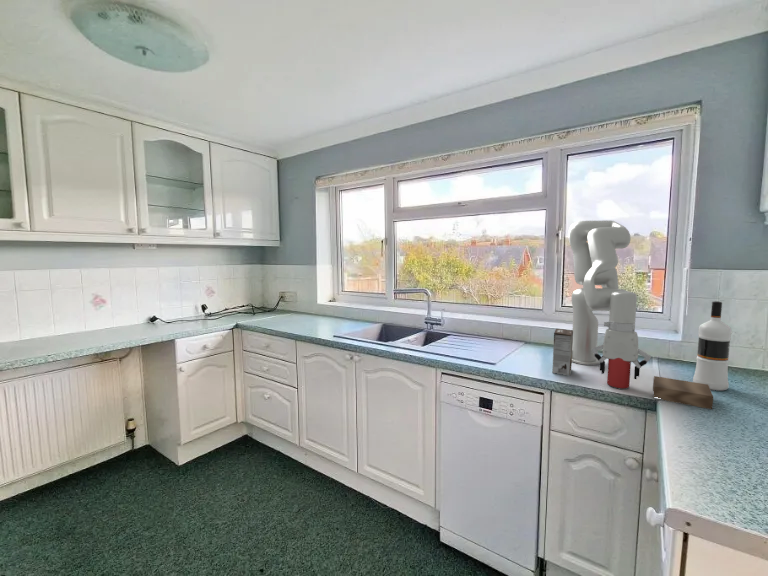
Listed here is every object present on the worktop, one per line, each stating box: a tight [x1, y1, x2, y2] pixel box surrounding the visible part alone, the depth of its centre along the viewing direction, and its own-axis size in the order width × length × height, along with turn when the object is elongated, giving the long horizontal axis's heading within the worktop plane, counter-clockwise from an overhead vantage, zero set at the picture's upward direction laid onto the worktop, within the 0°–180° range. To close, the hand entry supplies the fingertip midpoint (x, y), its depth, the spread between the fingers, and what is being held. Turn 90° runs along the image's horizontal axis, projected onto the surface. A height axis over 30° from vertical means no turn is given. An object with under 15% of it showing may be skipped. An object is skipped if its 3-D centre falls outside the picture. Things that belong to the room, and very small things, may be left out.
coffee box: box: [552, 328, 573, 376], centre depth 141 cm, size 9×6×16 cm
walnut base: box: [652, 375, 714, 410], centre depth 116 cm, size 14×12×4 cm
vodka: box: [692, 300, 733, 392], centre depth 124 cm, size 9×9×30 cm
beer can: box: [606, 358, 632, 390], centre depth 125 cm, size 7×7×12 cm
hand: (618, 375), depth 125 cm, fingers open, 9 cm apart
